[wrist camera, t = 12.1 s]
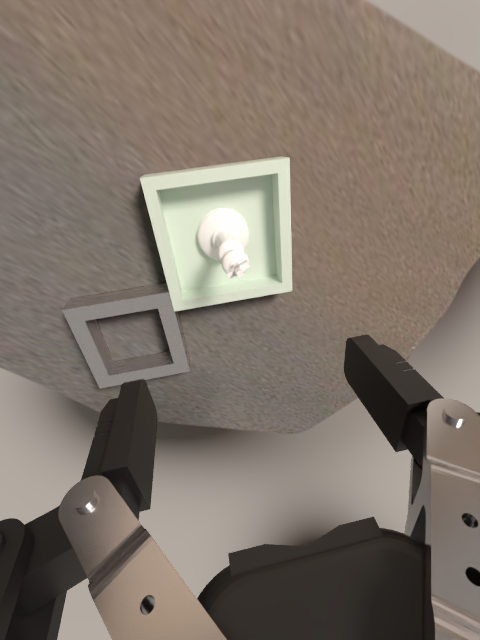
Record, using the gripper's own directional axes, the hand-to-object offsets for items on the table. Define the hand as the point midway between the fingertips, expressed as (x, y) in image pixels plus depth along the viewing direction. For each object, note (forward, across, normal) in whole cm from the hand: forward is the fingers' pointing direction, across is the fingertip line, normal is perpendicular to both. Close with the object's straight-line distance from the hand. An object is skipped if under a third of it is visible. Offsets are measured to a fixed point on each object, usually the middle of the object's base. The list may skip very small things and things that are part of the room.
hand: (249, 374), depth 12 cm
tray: (+20, -1, 0) cm, 20 cm away
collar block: (+20, +10, +9) cm, 24 cm away
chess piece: (+20, -1, 0) cm, 20 cm away
